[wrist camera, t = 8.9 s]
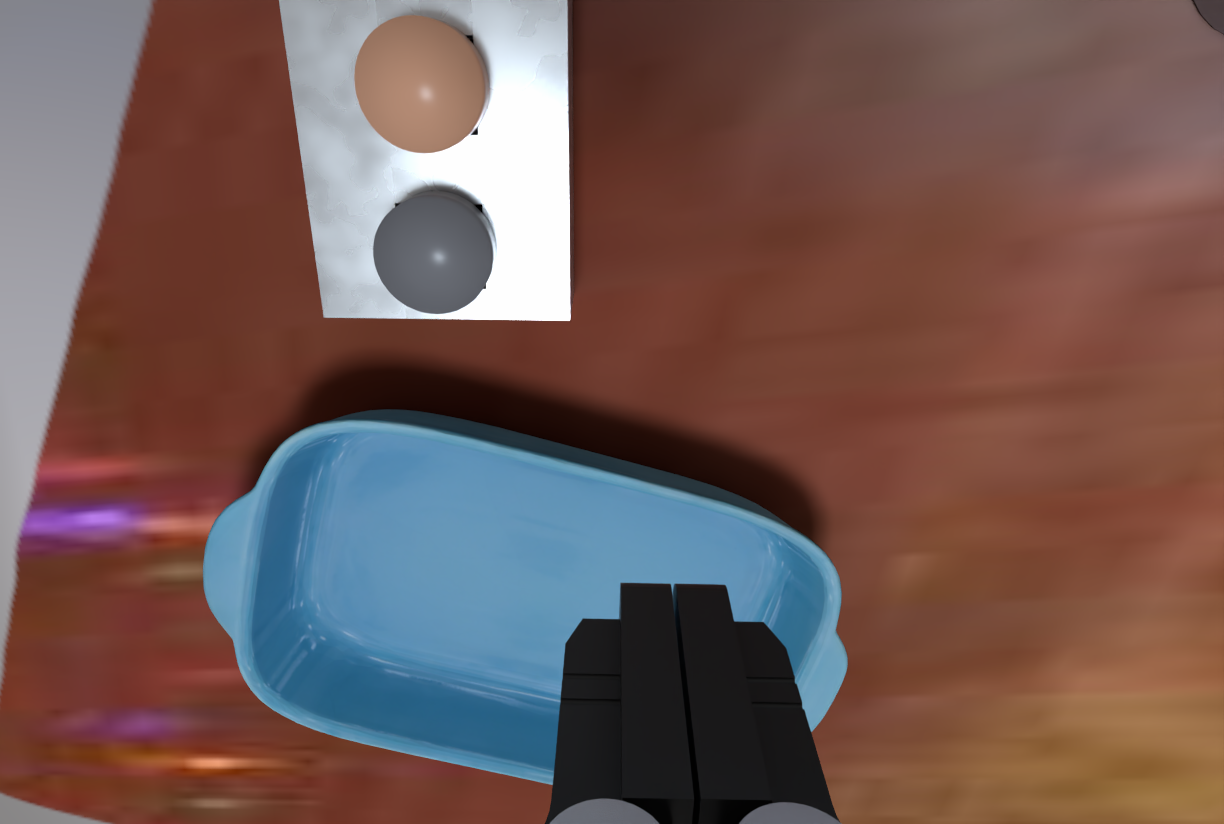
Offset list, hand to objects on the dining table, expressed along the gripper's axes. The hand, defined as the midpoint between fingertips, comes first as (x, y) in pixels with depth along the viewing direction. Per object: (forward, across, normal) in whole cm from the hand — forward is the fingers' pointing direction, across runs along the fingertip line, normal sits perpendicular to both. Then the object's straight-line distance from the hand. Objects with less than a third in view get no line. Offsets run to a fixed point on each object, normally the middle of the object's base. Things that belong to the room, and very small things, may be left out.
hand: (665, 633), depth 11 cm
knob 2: (+31, +9, 0) cm, 33 cm away
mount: (+32, +9, -7) cm, 34 cm away
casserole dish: (+33, +5, +22) cm, 40 cm away
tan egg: (+31, +9, -7) cm, 33 cm away
